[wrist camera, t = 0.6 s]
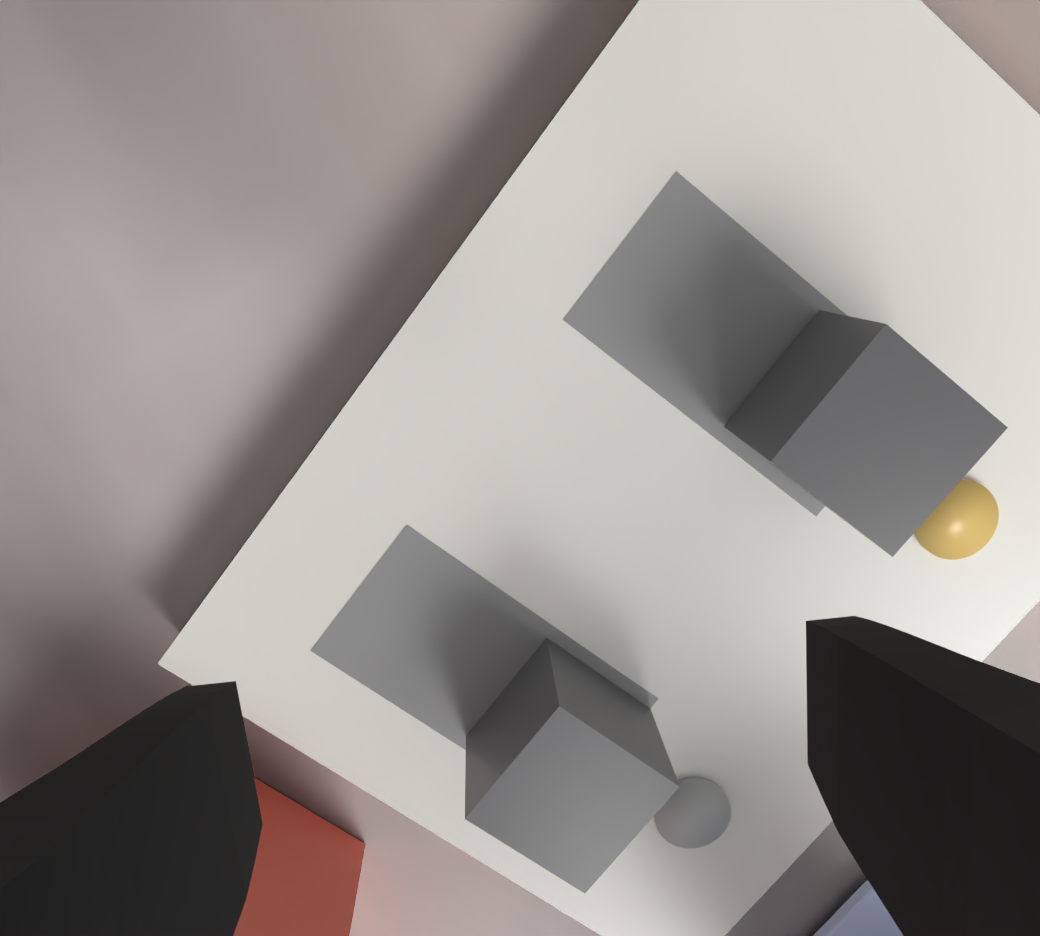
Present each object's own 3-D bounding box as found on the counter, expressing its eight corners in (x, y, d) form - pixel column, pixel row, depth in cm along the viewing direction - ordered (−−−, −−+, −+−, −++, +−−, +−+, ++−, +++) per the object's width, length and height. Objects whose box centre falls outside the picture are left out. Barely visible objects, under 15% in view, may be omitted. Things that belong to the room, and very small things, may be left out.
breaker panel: (1221, 337, 20) (1425, 364, 16) (666, 938, 24) (710, 1095, 19) (731, -126, 17) (817, -248, 13) (179, 634, 21) (101, 738, 16)
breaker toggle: (923, 398, 19) (1007, 427, 16) (828, 508, 19) (892, 557, 16) (819, 309, 18) (886, 324, 15) (723, 426, 18) (770, 461, 16)
